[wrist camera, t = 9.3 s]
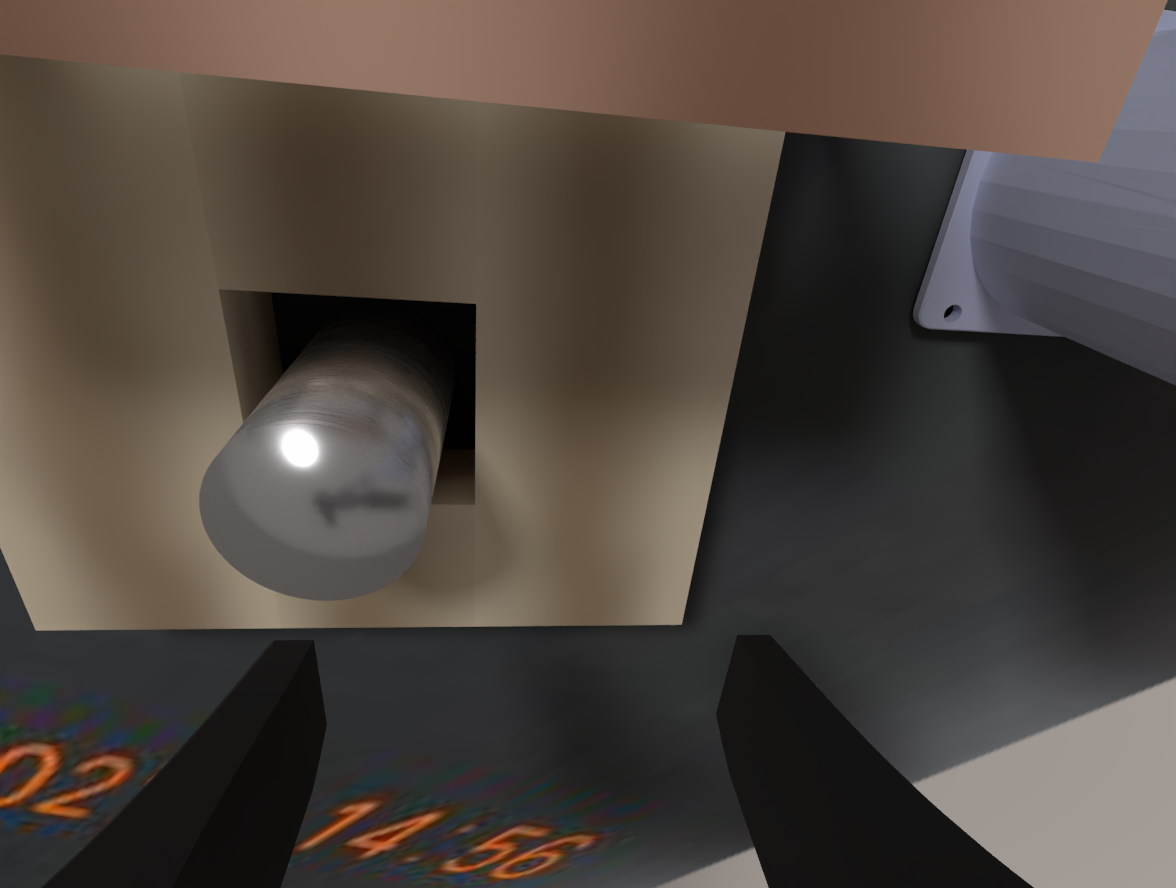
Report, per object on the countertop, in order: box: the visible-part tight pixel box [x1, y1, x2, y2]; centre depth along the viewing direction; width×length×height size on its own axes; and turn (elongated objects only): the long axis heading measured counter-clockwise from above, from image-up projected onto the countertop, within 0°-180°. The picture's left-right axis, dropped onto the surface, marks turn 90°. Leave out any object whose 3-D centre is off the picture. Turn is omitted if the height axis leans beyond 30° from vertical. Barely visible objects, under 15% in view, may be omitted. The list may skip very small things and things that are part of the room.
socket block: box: [0, 0, 1168, 630], centre depth 12 cm, size 19×20×10 cm
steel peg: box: [199, 305, 455, 601], centre depth 15 cm, size 4×4×7 cm
